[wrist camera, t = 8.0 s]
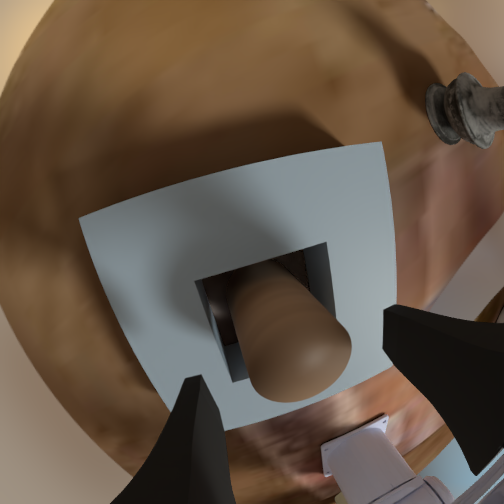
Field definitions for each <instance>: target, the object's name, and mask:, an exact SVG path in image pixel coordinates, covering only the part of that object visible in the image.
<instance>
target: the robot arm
mask: <svg viewBox="0 0 504 504" xmlns="http://www.w3.org/2000/svg"><path fill="white" fill-rule="evenodd" d="M382 349H383V351H384V352H385V353H386V355H387V356H388V358H389V359H390V360H391V362H392V363H393V364H394V366H395V367H396V368H397V369H398V370H399V371H400V372H401V373H402V374H403V375H404V376H405V377H406V378H407V379H408V380H409V381H410V382H411V383H412V384H413V385H414V386H415V387H416V388H417V389H418V390H419V391H420V392H421V393H422V394H423V395H424V396H425V397H426V398H427V399H428V400H429V401H430V402H431V404H432V405H433V406H434V407H435V409H436V410H437V412H438V413H439V414H440V416H441V417H442V418H443V420H444V421H445V423H446V424H447V426H448V427H449V429H450V430H451V432H452V434H453V435H454V437H455V439H456V440H457V442H458V444H459V446H460V448H461V450H462V452H463V454H464V456H465V458H466V460H467V463H468V465H469V468H470V470H471V471H472V473H473V474H474V475H475V476H477V475H478V474H479V473H480V472H481V471H482V470H483V469H484V468H485V467H486V466H487V465H488V464H489V463H490V462H491V461H492V460H493V459H494V458H495V457H496V456H497V455H498V454H499V453H500V452H501V451H502V449H503V448H504V323H487V322H476V321H468V320H462V319H457V318H451V317H447V316H443V315H438V314H435V313H431V312H427V311H423V310H419V309H415V308H411V307H407V306H402V305H397V304H394V305H392V306H390V307H388V308H386V309H383V344H382ZM388 417H389V416H388V415H387V414H385V415H383V416H381V417H379V418H377V419H375V420H373V421H372V422H370V423H368V424H366V425H364V426H362V427H360V428H358V429H356V430H354V431H352V432H349V433H347V434H345V435H343V436H341V437H338V438H336V439H334V440H331V441H329V442H327V443H324V444H323V445H321V455H322V464H323V472H324V476H325V477H327V476H330V475H332V474H333V476H334V478H335V480H336V482H337V484H338V486H339V488H340V490H341V492H342V493H343V495H344V497H345V499H346V501H347V503H348V504H473V503H475V502H476V501H477V500H478V499H479V498H480V497H481V496H482V495H483V494H484V493H485V492H486V491H487V490H488V489H489V488H490V487H491V486H492V485H493V484H494V483H495V482H496V481H497V480H498V479H499V478H500V477H501V476H502V475H503V473H504V454H503V455H502V456H501V457H500V458H499V459H498V460H497V462H496V463H495V464H494V465H493V466H492V467H491V468H490V469H489V470H488V471H487V472H486V473H485V474H484V475H483V476H482V477H481V478H480V479H479V480H478V481H477V482H475V483H474V484H473V485H472V486H471V487H470V488H469V489H468V490H466V491H465V492H464V493H463V494H462V495H461V496H459V497H458V498H457V499H456V500H455V499H454V497H453V496H452V494H451V493H450V491H449V490H448V489H447V487H446V486H445V485H444V484H443V483H442V482H441V481H440V480H439V479H438V478H436V477H434V476H432V477H431V476H426V477H425V478H424V479H422V477H421V476H420V475H419V476H416V475H415V473H414V472H413V471H412V469H411V468H410V467H409V465H408V464H407V463H406V461H405V460H404V459H403V457H402V456H401V455H400V453H399V452H398V451H397V449H396V448H395V447H394V445H393V444H392V443H391V441H390V440H389V439H388V437H387V436H386V435H385V431H386V427H387V422H388ZM110 504H236V502H235V498H234V494H233V491H232V486H231V480H230V473H229V465H228V456H227V448H226V439H225V431H224V427H223V423H222V419H221V414H220V410H219V408H218V406H217V404H216V402H215V400H214V398H213V396H212V394H211V392H210V390H209V388H208V386H207V384H206V382H205V380H204V378H203V376H202V374H200V375H196V376H192V377H187V378H185V379H184V381H183V384H182V386H181V389H180V392H179V394H178V397H177V399H176V402H175V404H174V407H173V409H172V411H171V414H170V416H169V418H168V420H167V423H166V425H165V427H164V429H163V431H162V433H161V435H160V437H159V438H158V440H157V442H156V444H155V446H154V448H153V449H152V451H151V453H150V454H149V456H148V458H147V459H146V461H145V462H144V464H143V465H142V467H141V468H140V469H139V471H138V472H137V473H136V475H135V476H134V477H133V479H132V480H131V481H130V483H129V484H128V485H127V486H126V487H125V488H124V490H123V491H122V492H121V493H120V494H119V495H118V496H117V497H116V498H115V499H114V500H113V501H112V502H111V503H110ZM478 504H504V479H503V480H502V481H501V482H499V483H498V484H497V485H496V486H495V487H494V488H493V489H492V490H491V491H490V492H489V493H488V494H487V495H485V497H484V498H483V499H482V500H481V501H480V502H479V503H478Z"/></svg>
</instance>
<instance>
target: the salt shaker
mask: <svg viewBox="0 0 504 504" xmlns="http://www.w3.org/2000/svg"><path fill="white" fill-rule="evenodd" d="M425 102H426V110H427V114H428V118H429V121H430V123H431V126H432V128H433V129H434V131H435V133H436V134H437V136H438V137H439V138H440V139H441V140H442V141H443V142H445V143H446V144H449V145H454V144H457V143H458V142H459V141H460V139H461V138H462V139H464V140H466V141H468V142H470V143H472V144H476V145H477V146H478V147H480V148H482V149H486V148H488V147H489V146H491V144H492V142H493V139H494V134H495V131H498V130H504V86H503V87H494V88H486V87H482V85H481V84H480V83H479V82H478V80H477V79H476V78H475V77H473V76H472V75H471V74H469V73H465V72H464V73H461V74H459V76H458V77H457V79H454V80H453V81H452V82H451V83H450V84H449V85H448V86H447V87H445V86H444V85H442V84H439V83H434V84H432V85H430V86H429V87H428V89H427V92H426V99H425Z"/></svg>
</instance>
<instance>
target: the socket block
mask: <svg viewBox="0 0 504 504" xmlns="http://www.w3.org/2000/svg"><path fill="white" fill-rule="evenodd" d="M79 222H80V225H81V228H82V231H83V234H84V238H85V241H86V243H87V246H88V249H89V252H90V255H91V258H92V260H93V263H94V266H95V268H96V271H97V274H98V276H99V279H100V281H101V283H102V286H103V288H104V291H105V293H106V295H107V298H108V300H109V302H110V304H111V307H112V309H113V311H114V313H115V315H116V317H117V320H118V322H119V324H120V326H121V328H122V330H123V332H124V334H125V336H126V338H127V340H128V342H129V343H130V345H131V347H132V349H133V351H134V353H135V355H136V356H137V358H138V360H139V362H140V364H141V365H142V367H143V369H144V371H145V372H146V374H147V376H148V377H149V379H150V381H151V382H152V384H153V386H154V387H155V389H156V390H157V392H158V393H159V395H160V397H161V398H162V400H163V401H164V403H165V404H166V406H167V407H168V409H169V410H170V412H171V411H172V409H173V407H174V404H175V402H176V399H177V397H178V394H179V392H180V389H181V386H182V384H183V381H184V379H185V378H187V377H192V376H196V375H200V374H202V376H203V378H204V380H205V382H206V384H207V386H208V388H209V390H210V392H211V394H212V396H213V398H214V400H215V402H216V404H217V406H218V408H219V410H220V414H221V419H222V423H223V427H224V431H226V430H230V429H234V428H238V427H242V426H246V425H250V424H253V423H257V422H260V421H263V420H267V419H270V418H273V417H276V416H279V415H282V414H285V413H288V412H291V411H294V410H297V409H299V408H302V407H305V406H308V405H310V404H313V403H315V402H318V401H320V400H323V399H325V398H328V397H330V396H332V395H335V394H337V393H339V392H341V391H344V390H346V389H348V388H350V387H352V386H354V385H357V384H359V383H361V382H363V381H365V380H367V379H369V378H371V377H373V376H375V375H377V374H379V373H380V372H382V371H384V370H386V369H388V368H390V367H391V366H392V364H393V363H392V362H391V360H390V359H389V358H388V356H387V355H386V353H385V352H384V351H383V349H382V344H383V309H386V308H388V307H390V306H392V305H394V304H396V293H397V284H396V250H395V235H394V222H393V212H392V203H391V195H390V188H389V181H388V174H387V168H386V162H385V157H384V151H383V146H382V142H374V143H366V144H358V145H351V146H344V147H337V148H331V149H324V150H318V151H312V152H307V153H301V154H296V155H291V156H286V157H281V158H276V159H271V160H267V161H262V162H258V163H253V164H249V165H245V166H240V167H236V168H232V169H228V170H224V171H220V172H217V173H213V174H209V175H205V176H202V177H198V178H195V179H191V180H188V181H184V182H181V183H177V184H174V185H171V186H168V187H164V188H161V189H158V190H155V191H152V192H149V193H146V194H143V195H140V196H137V197H134V198H131V199H128V200H125V201H122V202H120V203H117V204H114V205H111V206H109V207H106V208H103V209H101V210H98V211H96V212H93V213H90V214H88V215H85V216H83V217H80V218H79ZM301 249H303V252H304V257H305V263H306V268H307V274H308V280H309V286H310V292H311V294H312V295H313V296H314V297H315V298H316V299H317V300H318V301H319V302H320V303H321V304H322V305H323V306H324V307H325V308H326V309H327V310H328V311H329V312H330V313H331V314H332V315H333V316H334V317H335V318H336V319H337V320H338V321H339V322H340V323H341V324H342V325H343V327H344V328H345V329H346V330H347V331H348V333H349V335H350V338H351V342H352V351H351V356H350V359H349V362H348V364H347V366H346V368H345V370H344V371H343V373H342V374H341V376H340V377H339V378H338V379H337V380H336V381H335V382H334V383H333V384H332V385H331V386H330V387H328V388H327V389H326V390H324V391H323V392H321V393H319V394H317V395H315V396H313V397H311V398H308V399H305V400H302V401H298V402H291V403H281V402H274V401H271V400H268V399H266V398H264V397H262V396H261V395H259V394H258V393H257V392H256V391H255V389H254V388H253V386H252V384H251V382H250V378H249V375H248V372H247V369H246V365H245V362H244V358H243V355H242V352H241V348H240V345H239V342H238V343H235V344H231V345H228V346H224V343H223V340H222V337H221V335H220V332H219V329H218V326H217V324H216V321H215V318H214V315H213V312H212V310H211V307H210V304H209V301H208V298H207V295H206V292H205V289H204V286H203V283H202V280H201V279H203V278H206V277H210V276H213V275H217V274H220V273H224V272H227V271H230V270H234V269H237V268H241V267H244V266H247V265H251V264H254V263H257V262H261V261H264V260H267V259H271V258H274V257H277V256H281V255H284V254H287V253H291V252H294V251H297V250H301Z"/></svg>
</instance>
